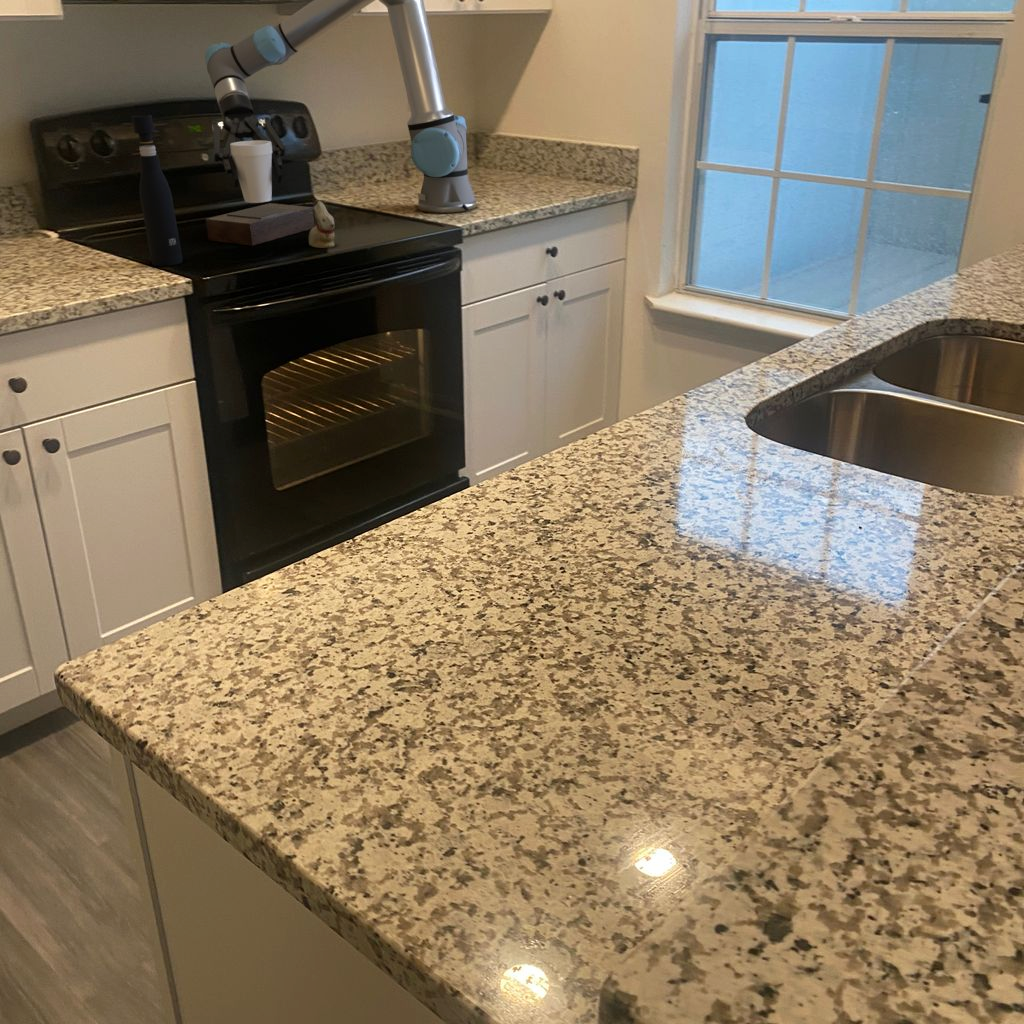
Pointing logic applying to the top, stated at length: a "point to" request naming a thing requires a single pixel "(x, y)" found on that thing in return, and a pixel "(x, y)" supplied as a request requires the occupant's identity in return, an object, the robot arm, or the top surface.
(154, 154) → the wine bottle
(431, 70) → the robot arm
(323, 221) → the chocolate bunny
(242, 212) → the slotted wooden box
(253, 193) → the foam cup
